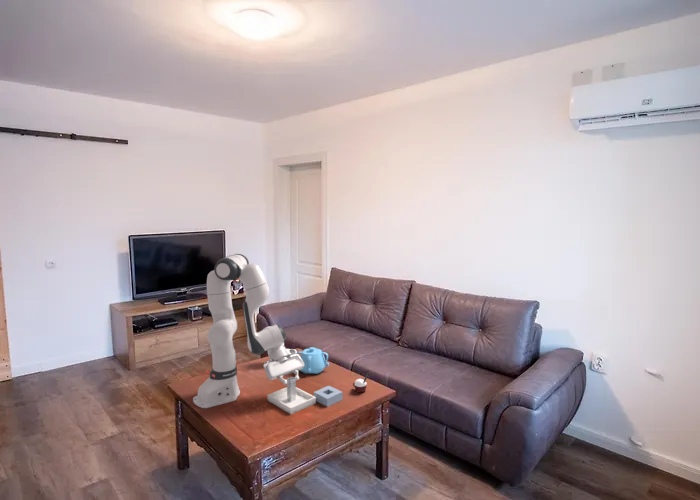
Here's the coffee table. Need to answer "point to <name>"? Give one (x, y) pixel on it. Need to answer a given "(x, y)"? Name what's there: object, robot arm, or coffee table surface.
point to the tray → (292, 407)
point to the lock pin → (291, 389)
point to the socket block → (328, 396)
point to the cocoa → (361, 384)
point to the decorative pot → (313, 360)
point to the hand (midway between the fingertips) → (292, 381)
